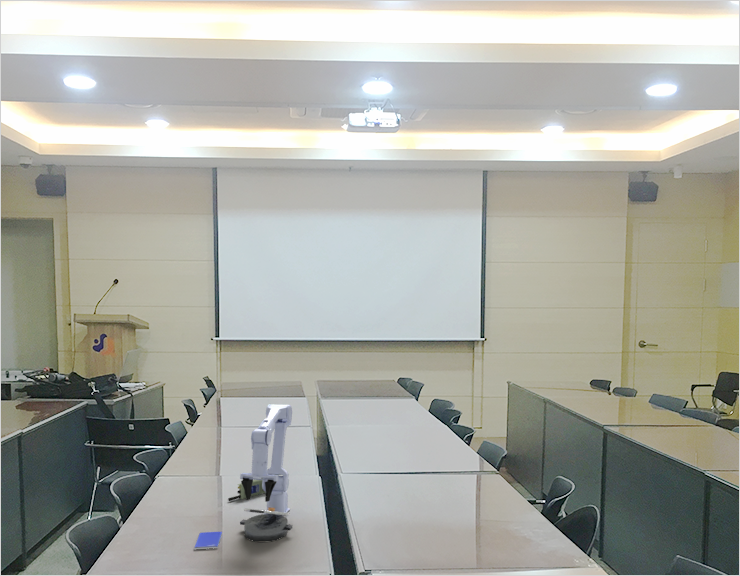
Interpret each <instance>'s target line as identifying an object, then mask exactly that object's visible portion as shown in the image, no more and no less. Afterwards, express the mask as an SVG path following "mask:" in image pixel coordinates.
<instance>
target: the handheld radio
mask: <svg viewBox="0 0 740 576" xmlns="http://www.w3.org/2000/svg"><path fill="white" fill-rule="evenodd" d="M278 476H280V475H278ZM262 479H263V478H262ZM262 481H263V480H253V483H252V488H251V498H252V497H256V496H259V495H258V494H260V495H263V494H265V491H264V490H263V488H262ZM237 489H239V490H238V491H237V494H239V495H235V496H231V497H229V498H228V499H227V501H228V502H232V501H235V500H237V499H240V500H244V499H245V500H246V494H245V490H244V487H243V485H242V483H238V484H237ZM262 493H263V494H262ZM255 495H256V496H255Z"/></svg>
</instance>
